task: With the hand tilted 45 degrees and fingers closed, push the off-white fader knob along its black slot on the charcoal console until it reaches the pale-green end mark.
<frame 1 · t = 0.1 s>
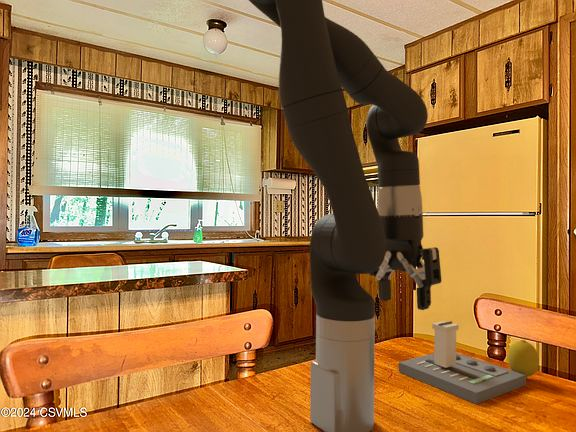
hand: (403, 304, 74), 17 cm above the table, tool pointing down, fingers open, 8 cm apart
console: (459, 378, 86), on the table
fader knob: (445, 343, 87), point 7 cm above the table, slide at 0.0 cm
lemon: (522, 379, 86), on the table
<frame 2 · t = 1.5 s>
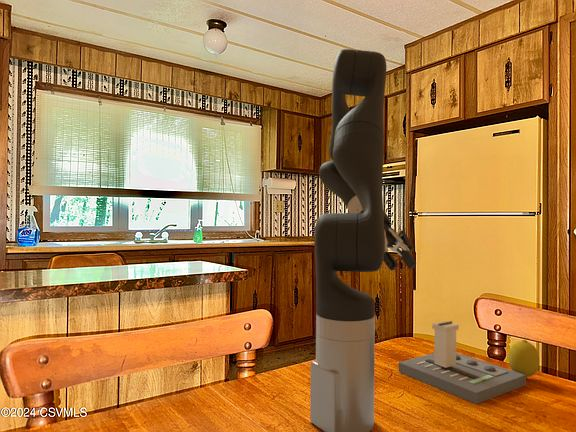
hand: (404, 267, 96), 21 cm above the table, tool tilted 45°, fingers open, 5 cm apart
nothing on the table moved.
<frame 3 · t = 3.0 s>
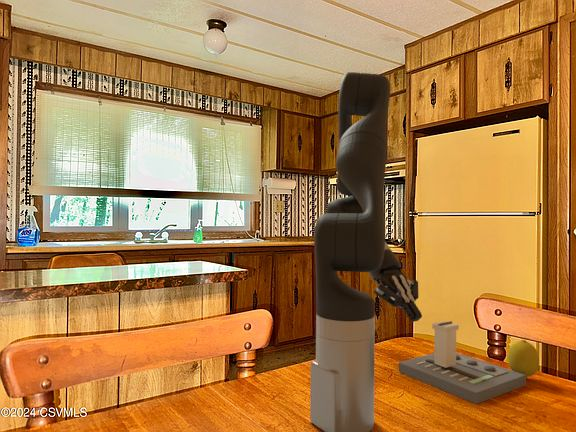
hand: (417, 319, 93), 10 cm above the table, tool tilted 45°, fingers closed
nothing on the table moved.
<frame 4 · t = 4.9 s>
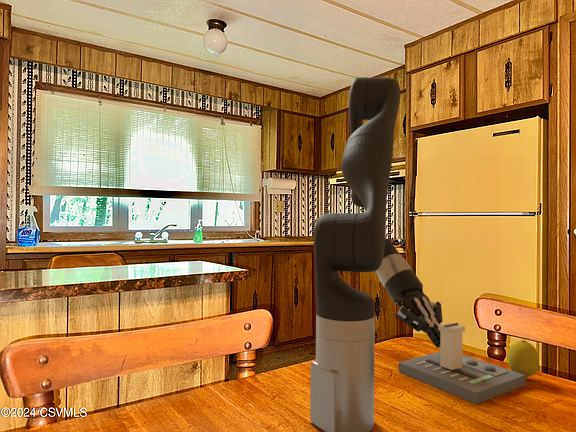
hand: (442, 345, 87), 6 cm above the table, tool tilted 45°, fingers closed
fader knob: (451, 345, 85), point 7 cm above the table, slide at 1.5 cm, touching gripper
everything else where it was.
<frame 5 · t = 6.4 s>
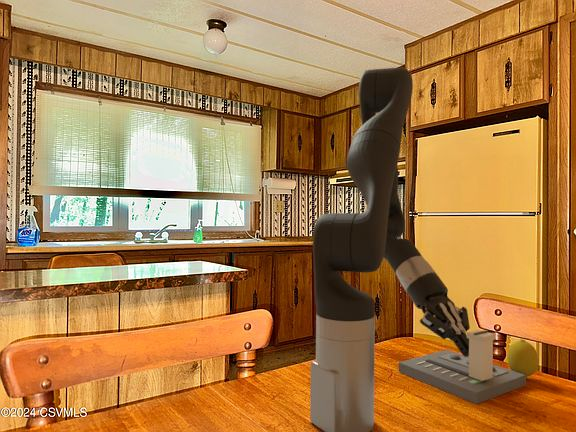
hand: (471, 354, 82), 6 cm above the table, tool tilted 45°, fingers closed
fader knob: (480, 354, 80), point 7 cm above the table, slide at 7.9 cm, touching gripper
everything else where it was.
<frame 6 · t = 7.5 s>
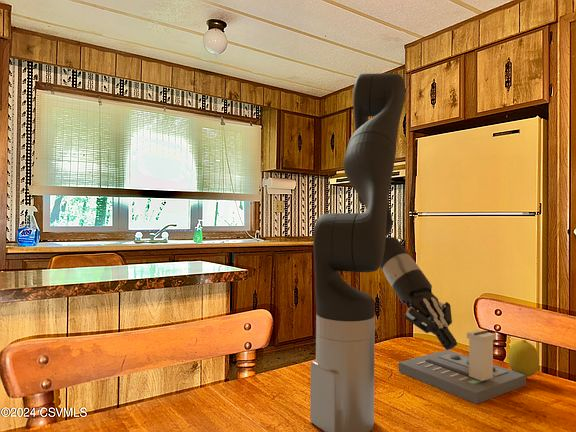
hand: (452, 347, 85), 6 cm above the table, tool tilted 45°, fingers closed
fader knob: (480, 354, 80), point 7 cm above the table, slide at 7.9 cm
everything else where it was.
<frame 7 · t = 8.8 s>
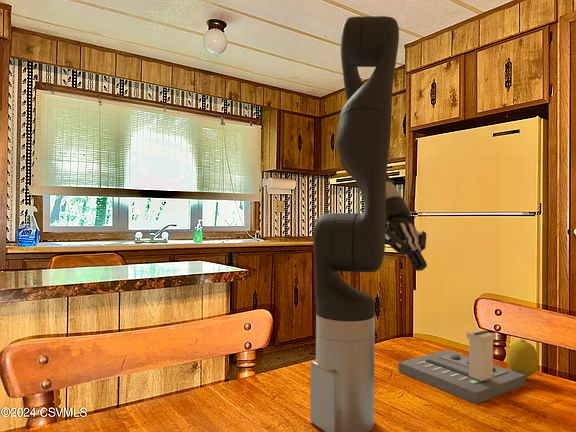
hand: (422, 268, 89), 22 cm above the table, tool tilted 40°, fingers closed
nothing on the table moved.
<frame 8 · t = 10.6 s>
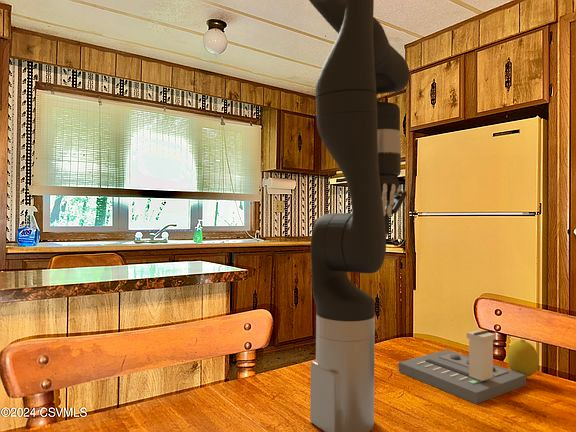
hand: (382, 234, 91), 29 cm above the table, tool pointing down, fingers closed
nothing on the table moved.
at the end: fader knob slide at 7.9 cm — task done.
